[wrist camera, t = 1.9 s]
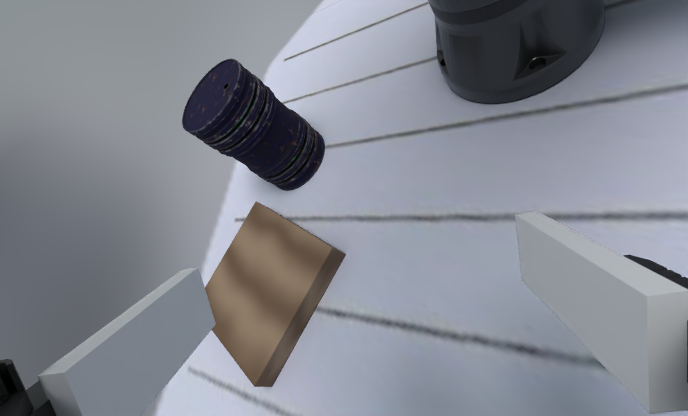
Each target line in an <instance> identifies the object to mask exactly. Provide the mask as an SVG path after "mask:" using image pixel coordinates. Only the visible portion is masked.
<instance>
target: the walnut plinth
mask: <svg viewBox="0 0 688 416" xmlns="http://www.w3.org/2000/svg"><path fill="white" fill-rule="evenodd" d="M345 255H346V254H344V253H342V252H341V251H339V250H337V249H336V248H334V247H332V246H331V245H329V244H328V243H326V242H324V241H323V240H321V239H319V238H318V237H316V236H314V235H313V234H311V233H309V232H308V231H306V230H304V229H303V228H301V227H299V226H298V225H296V224H294V223H293V222H291V221H289V220H288V219H286V218H284V217H283V216H281V215H279V214H278V213H276V212H274V211H273V210H271V209H269V208H268V207H266V206H264V205H262V204H260V203H258V202H255V204H254V206H253V207H252V209H251V211H250V212H249V214H248V216H247V218H246V219H245V221H244V223H243V224H242V226H241V228H240V229H239V231H238V233H237V234H236V236H235V238H234V240H233V241H232V243H231V245H230V246H229V248H228V250H227V251H226V253H225V255H224V257H223V258H222V260H221V262H220V263H219V265H218V267H217V268H216V270H215V272H214V274H213V275H212V277H211V279H210V280H209V282H208V284H207V285H206V287H205V290H206V294H207V297H208V300H209V303H210V307H211V310H212V313H213V316H214V320H215V323H216V324H215V326H214V327H213V328H212V331H213V332H214V333H215V335H216V336H217V337H218V339H219V340H220V341H221V343H222V344H223V345H224V347H225V348H226V349H227V351H228V352H229V353H230V355H231V356H232V357H233V359H234V360H235V361H236V363H237V364H238V365H239V367H240V368H241V369H242V371H243V372H244V373H245V375H246V376H247V377H248V379H249V380H250V381H251V383H252V384H253V385H254V387H272V386H273V384H274V382H275V380H276V378H277V377H278V375H279V373H280V371H281V370H282V368H283V366H284V364H285V362H286V361H287V359H288V357H289V355H290V353H291V352H292V350H293V348H294V346H295V344H296V343H297V341H298V339H299V337H300V335H301V334H302V332H303V330H304V328H305V326H306V325H307V323H308V321H309V319H310V317H311V316H312V314H313V312H314V310H315V309H316V307H317V305H318V303H319V301H320V300H321V298H322V296H323V294H324V292H325V291H326V289H327V287H328V285H329V283H330V282H331V280H332V278H333V276H334V274H335V273H336V271H337V269H338V267H339V265H340V264H341V262H342V260H343V258H344V256H345Z"/></svg>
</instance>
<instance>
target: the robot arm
mask: <svg viewBox="0 0 688 416" xmlns="http://www.w3.org/2000/svg"><path fill="white" fill-rule="evenodd" d="M428 1H429V4H430V6H431V8H432V10H433V13H434V15H435V27H436V43H437V57H438V64H439V67H440V70H441V72H442V74H443V76H444V78H445V80H446V82H447V83H448V85H449V87H450V88H451V89H452V90H453V91H454V92H455V93H456V94H458V95H459V96H461V97H463V98H465V99H467V100H471V101H474V102H480V103H503V102H510V101H514V100H518V99H522V98H525V97H528V96H531V95H534V94H536V93H539V92H541V91H543V90H545V89H547V88H549V87H551V86H553V85H554V84H556V83H558V82H559V81H561V80H562V79H564V78H565V77H567V76H568V75H569V74H570V73H572V72H573V71H574V70H575V69H576V68H578V67H579V66H580V65H581V64H582V63H583V62H584V61H585V59H586V58H587V57H588V56H589V55H590V53H591V52H592V51H593V49H594V48H595V46H596V44H597V43H598V41H599V39H600V37H601V34H602V31H603V27H604V21H605V4H604V0H428ZM515 219H516V229H517V238H518V248H519V258H520V267H521V277H522V281H523V282H524V283H525V284H526V285H527V286H528V287H529V288H530V289H531V290H532V292H533V293H534V294H535V295H536V296H537V297H538V298H539V299H540V300H541V301H542V302H543V303H544V304H545V305H546V306H547V307H548V308H549V309H550V310H551V311H552V312H553V313H554V314H555V316H556V317H557V318H558V319H559V320H560V321H561V322H562V323H563V324H564V325H565V326H566V327H567V328H568V329H569V330H570V331H571V332H572V333H573V334H574V335H575V336H576V337H577V339H578V340H579V341H580V342H581V343H582V344H583V345H584V346H585V347H586V348H587V349H588V350H589V351H590V352H591V353H592V354H593V355H594V356H595V357H596V358H597V359H598V360H599V361H600V363H601V364H602V365H603V366H604V367H605V368H606V369H607V370H608V371H609V372H610V373H611V374H612V375H613V376H614V377H615V378H616V379H617V380H618V381H619V382H620V383H621V384H622V385H623V387H624V388H625V389H626V390H627V391H628V392H629V393H630V394H631V395H632V396H633V397H634V398H635V399H636V400H637V401H638V402H639V403H640V404H641V405H642V406H643V407H644V408H645V410H646V411H647V412H648V413H649V414H652V413H663V412H674V411H685V410H688V278H686V277H681V275H680V274H678V273H675V272H673V271H671V270H667V268H665V267H663V266H661V265H659V264H657V263H655V262H653V261H651V260H647V259H643V258H639V257H635V256H631V255H624V256H622V255H620V254H618V253H616V252H615V251H613V250H611V249H609V248H607V247H605V246H603V245H601V244H599V243H597V242H595V241H593V240H591V239H589V238H587V237H586V236H584V235H582V234H580V233H578V232H576V231H574V230H572V229H570V228H568V227H566V226H564V225H562V224H560V223H559V222H557V221H555V220H553V219H551V218H549V217H547V216H545V215H543V214H541V213H539V212H537V211H532V212H526V213H520V214H515ZM215 324H216V323H215V320H214V316H213V313H212V310H211V307H210V303H209V300H208V297H207V294H206V290H205V287H204V284H203V281H202V277H201V274H200V271H199V268H198V267H196V268H189V269H184V270H181V271H180V272H178V273H177V274H176V275H174V276H173V277H171V278H170V279H169V280H167V281H166V282H165V283H163V284H162V285H161V286H159V287H158V288H157V289H155V290H154V291H152V292H151V293H150V294H148V295H147V296H146V297H145V298H143V299H142V300H140V301H139V302H137V303H136V304H135V305H133V306H132V307H131V308H129V309H128V310H127V311H125V312H124V313H123V314H121V315H120V316H118V317H117V318H116V319H114V320H113V321H112V322H110V323H109V324H108V325H106V326H105V327H103V328H102V329H101V330H99V331H98V332H97V333H95V334H94V335H93V336H91V337H90V338H88V339H87V340H86V341H84V342H83V343H82V344H80V345H79V346H78V347H76V348H75V349H74V350H72V351H71V352H69V353H68V354H67V355H65V356H64V357H63V358H61V359H60V360H59V361H57V362H56V363H55V364H53V365H52V366H50V367H49V368H48V369H46V370H45V371H44V372H42V373H41V374H39V375H38V378H39V381H38V382H37V383H35V384H34V385H33V386H31V387H30V388H29V389H27V390H25V387H24V385H23V383H22V381H21V379H20V377H19V374H18V372H17V370H16V368H15V365H14V363H13V361H12V360H9V359H5V360H0V416H142V414H143V413H144V412H145V411H146V409H147V408H148V407H149V406H150V404H151V403H152V402H153V401H154V400H155V398H156V397H157V396H158V395H159V393H160V392H161V391H162V390H163V388H164V387H165V386H166V385H167V384H168V382H169V381H170V380H171V379H172V377H173V376H174V375H175V374H176V372H177V371H178V370H179V369H180V368H181V366H182V365H183V364H184V363H185V361H186V360H187V359H188V358H189V356H190V355H191V354H192V353H193V352H194V350H195V349H196V348H197V347H198V345H199V344H200V343H201V342H202V340H203V339H204V338H205V337H206V336H207V334H208V333H209V332H210V331H211V329H212V328H213V327H214V326H215Z"/></svg>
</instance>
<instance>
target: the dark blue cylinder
mask: <svg viewBox="0 0 688 416" xmlns="http://www.w3.org/2000/svg"><path fill="white" fill-rule="evenodd" d="M182 125H183V128H184V129H185V130H186V131H187V132H189V133H191V134H192V135H195V136H196V137H197V138H199V139H200V140H202V141H203V142H204V143H205V144H207V145H209V146H210V147H212V148H213V149H217V150H218V151H219V152H220V153H221V154H225V155H226V156H230V157H233V158H235V159H236V160H238V161H240V162H241V163H243V164H245V165H246V166H247V167H248V168H249V169H250V170H251V171H252V172H254V173H255V174H257V175H258V176H259V177H261V178H262V179H264V180H266V181H267V182H270V183H272V184H274V185H276V186H277V187H279V188H280V189H282V190H293V189H296V188H299V187H301V186H302V185H304V184H305V183H306V182H307V181H309V180H310V179H311V178H312V177H313V175H314V174H315V173H316V171H317V170H318V168H319V166H320V164H321V162H322V159H323V156H324V151H325V144H324V140H323V138H322V136H321V135H320V134H319V133H318V132H317V131H315V130H314V129H313V128H312V127H311V125H310V124H309V123H308V122H307V121H306V120H305V119H303V118H302V117H300V115H299V114H297V113H296V112H294V111H293V110H290V109H288V108H287V107H286V106H285V105H284V104H282V103H281V102H280V101H279V100H278V99H277V98H276V97H275V95H274V93H273V92H272V91H271V90H270V88H269V87H267V86H265V85H264V84H263V82H262V81H261V80H260V79H258V78H257V77H256V76H255V75H253V74H251V73H250V72H249V71H248V70H247V69H245V68H244V67H243V66H242V65H241V64H240V63H239V62H238V61H237V60H235V59H227V60H224V61H222V62H220V63H219V64H217V65H216V66H215V67H213V68H212V69H211V70H210V71H209V72H208V73H207V74H206V75H205V76H204V77H203V78H202V80H201V81H200V82H199V83H198V85H197V86H196V88H195V89H194V91H193V92H192V94H191V96H190V98H189V100H188V102H187V104H186V106H185V109H184V113H183V118H182Z"/></svg>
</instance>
